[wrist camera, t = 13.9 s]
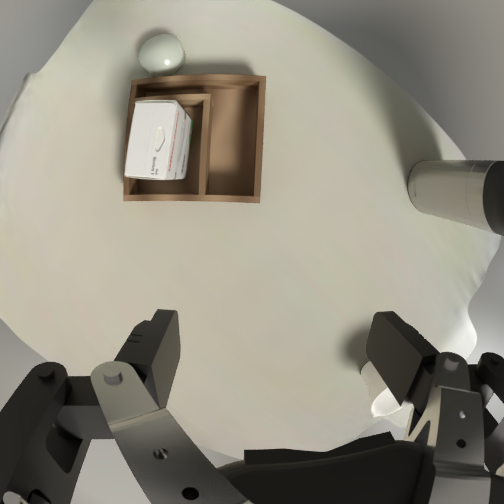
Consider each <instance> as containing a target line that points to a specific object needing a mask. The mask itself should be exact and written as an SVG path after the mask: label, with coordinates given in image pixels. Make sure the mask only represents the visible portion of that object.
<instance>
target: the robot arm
mask: <svg viewBox="0 0 504 504" xmlns="http://www.w3.org/2000/svg"><path fill="white" fill-rule="evenodd" d="M408 191H409V196H410V199H411V201H412V203H413V205H414V206H415V208H416V209H417V210H419V211H420V212H422V213H425V214H429V215H433V216H437V217H440V218H444V219H448V220H452V221H455V222H459V223H463V224H466V225H470V226H473V227H476V228H480V229H484V230H487V231H490V232H493V233H496V234H499V235H503V236H504V161H494V160H431V161H421V162H419V163H418V164H416V165H415V166H414V167H413V169H412V171H411V173H410V176H409V180H408ZM366 353H367V356H368V358H369V360H370V361H371V363H372V364H373V366H374V367H375V369H376V370H377V372H378V373H379V375H380V376H381V378H382V379H383V381H384V382H385V384H386V385H387V387H388V388H389V390H390V391H391V393H392V394H393V396H394V397H395V399H396V401H397V402H398V404H399V405H400V407H402V406H406V405H410V404H413V405H414V406H413V408H412V410H411V412H410V416H409V420H408V424H407V429H406V433H405V436H404V440H394V438H393V436H392V434H391V432H390V431H389V432H385V433H381V434H377V435H373V436H368V437H364V438H359V439H357V440H355V441H352V442H350V443H348V444H345V445H343V446H340V447H338V448H335V449H333V450H330V451H327V452H315V451H302V450H293V449H264V450H244V460H241V461H237V462H233V463H230V464H226V465H224V466H222V467H219V468H215V467H214V465H213V464H212V463H211V462H210V461H209V460H208V459H207V458H206V457H205V455H204V454H203V453H202V452H201V451H200V450H199V449H198V447H197V446H196V445H195V444H194V443H193V441H192V440H191V439H190V438H189V436H188V435H187V434H186V433H185V431H184V430H183V429H182V428H181V426H180V425H179V424H178V423H177V421H176V420H175V419H174V417H173V416H172V415H171V413H170V412H169V411H168V410H167V409H166V405H167V401H168V398H169V394H170V391H171V387H172V383H173V380H174V376H175V373H176V369H177V366H178V363H179V359H180V335H179V322H178V313H177V311H176V310H163V309H158V310H157V311H156V313H155V314H154V316H153V318H152V320H151V321H147V320H144V321H142V322H141V323H139V324H138V325H136V326H135V327H134V329H133V330H132V332H131V334H130V335H129V337H128V338H127V341H126V342H125V343H124V345H123V346H122V348H121V350H120V351H119V353H118V354H117V356H116V358H115V359H114V361H110V362H105V363H103V364H100V365H99V366H97V367H96V368H95V369H94V370H93V371H92V373H91V376H68V374H67V371H66V369H65V367H64V366H63V365H61V364H59V363H56V362H45V363H42V364H39V365H37V366H35V367H34V368H33V369H32V370H31V371H30V372H29V374H28V375H27V376H26V377H25V379H24V380H23V381H22V383H21V384H20V385H19V386H18V388H17V389H16V390H15V392H14V393H13V395H12V396H11V397H10V399H9V400H8V402H7V403H6V404H5V406H4V407H3V409H2V410H1V412H0V504H70V502H71V499H72V496H73V492H74V489H75V486H76V482H77V479H78V476H79V473H80V470H81V467H82V464H83V462H84V459H85V456H86V453H87V450H88V447H89V445H90V442H91V439H115V441H116V443H117V445H118V447H119V449H120V451H121V453H122V455H123V457H124V459H125V460H126V462H127V464H128V466H129V468H130V469H131V471H132V473H133V475H134V477H135V478H136V480H137V482H138V483H139V485H140V487H141V488H142V490H143V492H144V493H145V494H146V496H147V498H148V499H149V501H150V502H151V504H504V418H503V419H502V421H501V422H500V423H499V424H498V422H497V421H496V420H495V419H494V417H493V416H492V415H491V414H490V412H489V411H488V410H487V409H486V405H487V404H488V402H489V400H490V398H491V397H492V395H493V393H495V394H496V395H497V396H498V397H499V399H500V400H501V401H502V402H503V403H504V358H503V357H501V356H499V355H497V354H495V353H490V352H486V353H483V354H482V355H481V358H480V360H479V362H478V364H470V365H468V364H467V362H466V360H465V359H464V358H463V357H461V356H460V355H458V354H455V353H452V352H441V353H440V352H439V351H438V350H437V349H435V348H434V347H433V346H432V345H431V344H430V343H429V342H428V341H427V340H426V339H424V337H423V336H422V335H421V334H419V332H418V331H417V330H416V329H415V328H414V327H413V326H411V325H409V324H407V323H405V322H404V321H403V320H402V319H401V318H400V317H399V316H398V315H397V314H396V313H395V312H393V311H386V312H377V313H375V315H374V317H373V321H372V325H371V329H370V333H369V337H368V341H367V345H366ZM484 463H485V465H486V466H487V468H488V470H489V471H490V472H488V471H486V470H485V469H484Z"/></svg>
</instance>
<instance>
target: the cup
mask: <svg viewBox="0 0 504 504" xmlns="http://www.w3.org/2000/svg"><path fill="white" fill-rule="evenodd" d="M361 377H362V379H363V380H364V382H365V383H366V385H367V388H368V390H369V395H370V410H371V412H372V416H373V417H376V416H385V415H388V414H391V413H394V412H396V411H397V410H399V409H400V408H402V407H403V406H402V407H400V405H399V404H398V402H397V401H396V399H395V397H394V396H393V394H392V393H391V391H390V390H389V388H388V387H387V385H386V384H385V382H384V381H383V379H382V378H381V376H380V375H379V373H378V372H377V370H376V369H375V367H374V366H373V364H372V363H371V361H369V362H367V363H366V364H365V365H364V366H363V368H362V371H361Z"/></svg>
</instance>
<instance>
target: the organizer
mask: <svg viewBox="0 0 504 504" xmlns="http://www.w3.org/2000/svg"><path fill="white" fill-rule="evenodd" d="M265 89H266V76H255V75H232V74H201V75H178V76H164V77H154V78H145V79H137V80H132V84H131V91H130V99H129V107H128V117H127V127H126V140H125V157H124V174H125V164H126V157H127V149H128V143H129V136H130V130H131V124H132V119H133V114H134V108H135V103H136V102H137V101H144V100H176V101H177V102H178V103H179V105H180V106H181V107H182V108H183V109H184V111H185V112H186V113H187V114H188V116H189V117H190V118H191V119H192V120H193V129H192V135H191V142H190V149H189V156H188V163H187V171H186V178H185V179H172V180H152V179H139V178H131V177H126V176H124V201H214V202H244V203H260V192H261V172H262V152H263V132H264V111H265Z"/></svg>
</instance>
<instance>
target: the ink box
mask: <svg viewBox="0 0 504 504" xmlns="http://www.w3.org/2000/svg"><path fill="white" fill-rule="evenodd" d="M192 129H193V120H192V119H191V118H190V117H189V116H188V114H187V113H186V112H185V111H184V109H183V108H182V107H181V106H180V105H179V103H178V102H177V101H176V100H144V101H137V102H136V103H135V108H134V114H133V119H132V124H131V130H130V136H129V143H128V149H127V157H126V164H125V174H124V176H126V177H131V178H139V179H152V180H172V179H185V178H186V171H187V163H188V156H189V149H190V142H191V135H192Z"/></svg>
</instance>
